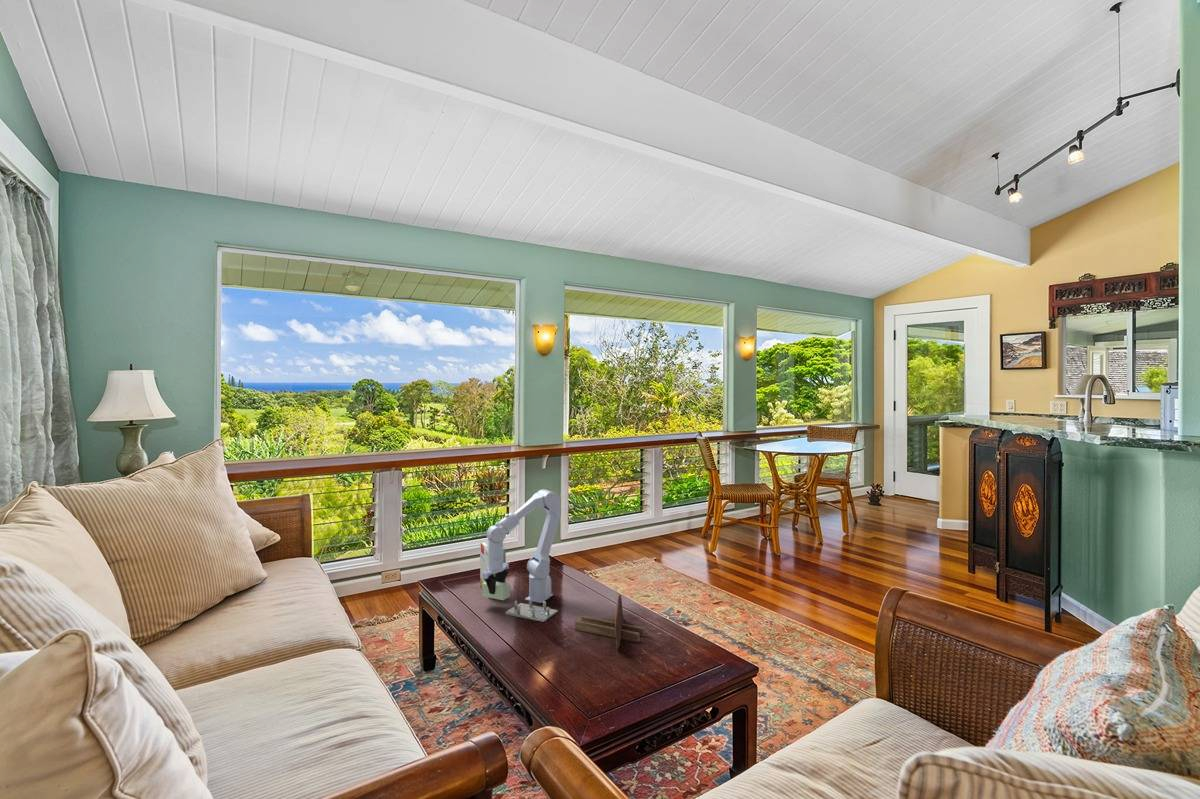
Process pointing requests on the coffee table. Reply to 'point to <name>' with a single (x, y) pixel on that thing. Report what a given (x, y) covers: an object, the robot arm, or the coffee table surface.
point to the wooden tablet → (618, 621)
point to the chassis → (531, 611)
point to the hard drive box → (486, 559)
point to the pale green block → (497, 591)
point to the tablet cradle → (608, 628)
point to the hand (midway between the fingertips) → (496, 591)
